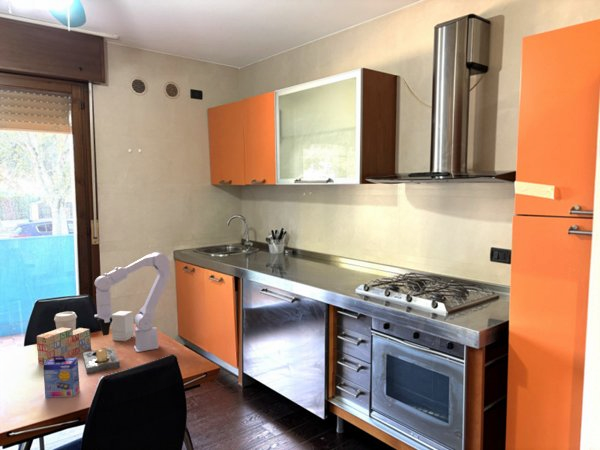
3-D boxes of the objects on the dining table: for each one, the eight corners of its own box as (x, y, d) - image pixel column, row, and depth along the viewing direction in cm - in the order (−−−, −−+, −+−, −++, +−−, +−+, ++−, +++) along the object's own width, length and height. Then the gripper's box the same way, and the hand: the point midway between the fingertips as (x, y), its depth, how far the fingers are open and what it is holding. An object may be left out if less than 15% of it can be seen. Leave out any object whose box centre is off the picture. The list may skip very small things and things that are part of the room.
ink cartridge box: (44, 398, 152) (41, 358, 151) (51, 391, 157) (49, 352, 156) (73, 397, 153) (71, 356, 152) (80, 390, 158) (78, 350, 157)
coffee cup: (82, 344, 207) (81, 312, 206) (62, 350, 199) (60, 317, 198) (71, 340, 212) (69, 310, 211) (51, 346, 204) (49, 315, 203)
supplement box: (134, 336, 217) (133, 311, 216) (125, 341, 210) (124, 315, 209) (121, 335, 218) (120, 310, 217) (111, 340, 211) (110, 314, 210)
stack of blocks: (81, 347, 203) (79, 321, 202) (91, 349, 200) (89, 322, 200) (38, 364, 183) (36, 335, 182) (48, 366, 181) (46, 337, 180)
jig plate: (113, 352, 195) (112, 347, 194) (119, 367, 178) (119, 361, 178) (83, 358, 188) (82, 352, 188) (87, 374, 172) (86, 367, 172)
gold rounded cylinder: (107, 364, 182) (106, 347, 181) (108, 367, 178) (107, 350, 178) (96, 366, 180) (95, 349, 180) (97, 369, 177) (96, 352, 176)
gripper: (91, 301, 193) (93, 332, 195) (96, 309, 181) (97, 341, 182) (109, 299, 197) (110, 329, 198) (114, 306, 185) (116, 338, 186)
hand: (105, 334), depth 190 cm, fingers closed
